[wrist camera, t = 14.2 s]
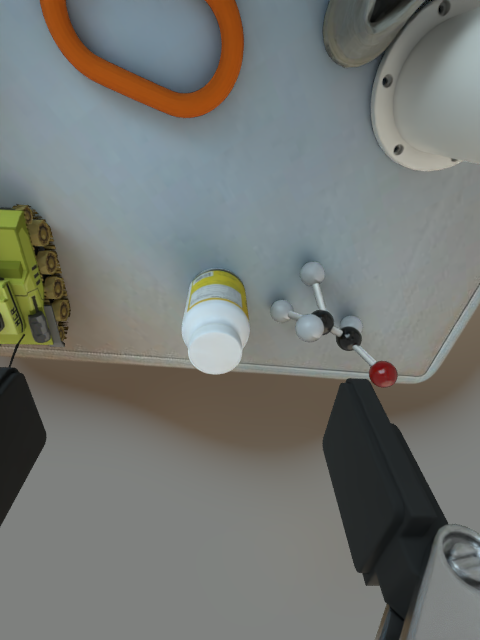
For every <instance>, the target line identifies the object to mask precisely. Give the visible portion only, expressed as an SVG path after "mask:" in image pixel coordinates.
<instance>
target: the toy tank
mask: <svg viewBox="0 0 480 640" xmlns="http://www.w3.org/2000/svg"><path fill="white" fill-rule="evenodd" d="M16 205H17V204H16ZM30 208H31V206H29V205H17V206H13V207H12V208H0V346H1V344H16V347H15V349H14V352H13V355H12V358H11V361H10V365H9V368H10V367H11V364H12V361H13V359H14V356H15V353H16V351H17V348H18V346H19V344H38V345H49V346H50V347H65V343H64V342H63V340H64V339H66V338H67V337H65V334H67V332H64V330H68V327H62V326H65V324H63V323H69V322H61V321H66V320H67V318H68V317H70V313H69V311H71V310H69V308H70V304H69V300H68V299H61V300H57V299H60V298H64V297H67V292H66V291H63V289H66V288H65V284H63V283H64V281H62V280H63V278H61V277H56V276H61V275H54V274H58V273H62V272H61V268H57V266H59V267H60V265H59V264H57V263H59V261H58V257H57V253H56V252H55V251H50V250H56V248H55V245H48V244H51V243H49V242H50V241H54V240H53V239H50V237H51V238H53V236H52V232H51V228H49V227H50V226H48V224H47V223H45V222H44V221H45V220H40V219H38V218H37V217H33V216H35V215H33V214H32V211H31V209H30ZM33 211H35V210H33ZM34 214H38V213H37V212H34ZM41 218H42V217H41ZM32 219H33V220H32ZM38 246H43V247H44V249H45V251H39V250H38ZM46 274H51V276H49V277H47V278H46ZM53 299H55V300H54V301H53ZM56 321H58V322H59V323H58V326H57V323H56ZM64 328H66V329H64Z"/></svg>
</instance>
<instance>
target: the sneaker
mask: <svg viewBox="0 0 480 640" xmlns="http://www.w3.org/2000/svg"><path fill="white" fill-rule="evenodd" d="M424 1H425V0H330V2H329V4H328V7H327V11H326V14H325V17H324V24H323V38H324V44H325V48H326V51H327V53H328V55H329V56H330V57H331V59H332V60H333V61H334V62H335V63H337V64H338V65H340V66H342V67H344V68H349V67H359V66H362V65H364V64H366V63H369V62H370V61H372V60H374V59H375V58H376V57H378V56H379V55H380V54H381V53H382V52H384V51H385V50H386V48H387V47H388V46H389V45H390V44H391V42H392V41H393V40H394V38H395V37H396V36H397V34H398V32H399V31H400V30H401V29H402V27H403V26H404V25H405V24H406V22H407V21H408V20H409V19H410V17H411V16H412V15H413V14H414V12H415V11H416V10H417V9H418V8H419V7H420V5H421V4H422V3H423V2H424Z"/></svg>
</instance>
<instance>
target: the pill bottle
mask: <svg viewBox="0 0 480 640" xmlns="http://www.w3.org/2000/svg"><path fill="white" fill-rule="evenodd" d="M249 334H250V325H249V317H248V309H247V301H246V294H245V288H244V285H243V283H242V281H241V280H240V279H239V277H238V276H236V275H235V274H234V273H232V272H231V271H228V270H226V269H221V268H212V269H208V270H205V271H203V272H201V273H199V274H198V275H197V276H196V277H195V278H194V279H193V281H192V282H191V284H190V287H189V291H188V296H187V301H186V306H185V311H184V317H183V322H182V337H183V340H184V342H185V344H186V346H187V347H188V356H189V359H190V361H191V363H192V364H193V365H194V366H195V367H196V368H197V369H198V370H200V371H202V372H205V373H208V374H222V373H226V372H229V371H230V370H232V369H234V368H235V367H236V366H237V365H238V364H239V362H240V360H241V358H242V349H243V348H244V346H245V345H246V343H247V341H248V338H249Z"/></svg>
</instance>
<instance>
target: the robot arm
mask: <svg viewBox="0 0 480 640" xmlns="http://www.w3.org/2000/svg"><path fill="white" fill-rule="evenodd" d="M439 7H440V8H441V12H440V14H439V12H438V9H439ZM383 78H385V79H386V83H385V85H383V84H382V80H383ZM371 121H372V126H373V131H374V134H375V136H376V139H377V141H378V144H379V145H380V147H381V148H382V150H383V151H384V152H385V154H386V155H387V156H388V157H390V158H391V159H392V160H393V161H394V162H396V163H398V164H400V165H402V166H404V167H406V168H410V169H413V170H418V171H436V170H442V169H445V168H448V167H452V166H454V165H456V164H458V163H460V162H462V161H466V162H470V163H475V164H479V165H480V0H433V1H432V2H430V3H428V4H427V5H425V6H424V7H423V8H421V9H420V10H419V11H418V12H417V13H416V14H414V15H413V16H412V17H411V18H410V19H409V20H408V21H407V22H406V24H405V25H404V26H403V27H402V29H401V30H400V31H399V32H398V34H397V36H396V37H395V38H394V40H393V41H392V42H391V44H390V45H389V47H388V48H387V50H386V52H385V54H384V56H383V58H382V61H381V63H380V65H379V67H378V70H377V74H376V77H375V80H374V84H373V89H372V96H371ZM395 146H397V149H396V151H394V148H395ZM45 442H46V431H45V429H44V426H43V424H42V421H41V418H40V416H39V413H38V410H37V408H36V405H35V402H34V400H33V397H32V395H31V392H30V390H29V387H28V384H27V382H26V379H25V376H24V375H23V374H22V373H19V372H18V370H17V369H16V368H6V367H0V526H1V524H2V522H3V521H4V519H5V517H6V515H7V513H8V511H9V510H10V508H11V506H12V504H13V502H14V500H15V498H16V497H17V495H18V493H19V491H20V489H21V487H22V485H23V484H24V482H25V480H26V478H27V476H28V474H29V473H30V470H31V469H32V467H33V465H34V463H35V462H36V460H37V458H38V456H39V454H40V452H41V451H42V449H43V447H44V445H45ZM323 451H324V455H325V458H326V462H327V466H328V469H329V473H330V477H331V481H332V485H333V488H334V492H335V496H336V499H337V503H338V507H339V510H340V514H341V518H342V522H343V526H344V529H345V533H346V537H347V540H348V544H349V548H350V552H351V555H352V559H353V563H354V566H355V568H356V570H357V572H359V573H363V577H364V581H365V584H366V586H367V585H368V586H373V585H374V586H380V588H381V591H382V594H383V597H384V600H385V602H386V603H387V604H386V607H385V610H384V613H383V617H382V619H381V622H380V625H379V629H378V631H377V634H376V637H375V640H480V534H479V533H477V532H476V531H474V530H472V529H470V528H468V527H465V526H462V525H457V524H448V522H447V520H446V518H445V516H444V514H443V512H442V510H441V509H440V507H439V505H438V503H437V501H436V499H435V497H434V495H433V493H432V491H431V489H430V487H429V485H428V483H427V482H426V480H425V478H424V476H423V474H422V472H421V470H420V468H419V466H418V464H417V462H416V460H415V459H414V457H413V455H412V453H411V451H410V449H409V447H408V445H407V443H406V441H405V439H404V438H403V435H402V433H401V432H400V430H399V429H398V427H397V426H396V425H394V424H391V423H390V421H389V419H388V417H387V415H386V413H385V411H384V409H383V407H382V405H381V403H380V401H379V399H378V398H377V395H376V393H375V391H374V389H373V387H372V385H371V383H370V382H369V380H367V379H351V378H349V379H347V380H346V383H341V384H340V386H339V390H338V393H337V396H336V399H335V402H334V406H333V409H332V412H331V415H330V418H329V421H328V425H327V428H326V431H325V434H324V437H323Z"/></svg>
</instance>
